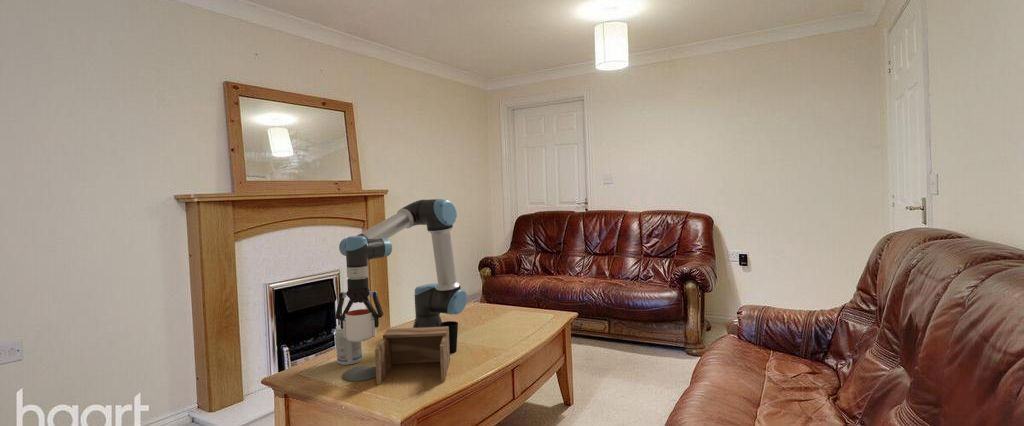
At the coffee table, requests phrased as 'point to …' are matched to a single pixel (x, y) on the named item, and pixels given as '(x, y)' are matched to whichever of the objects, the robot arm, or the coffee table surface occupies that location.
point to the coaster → (360, 373)
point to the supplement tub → (347, 349)
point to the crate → (413, 348)
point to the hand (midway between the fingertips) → (360, 336)
